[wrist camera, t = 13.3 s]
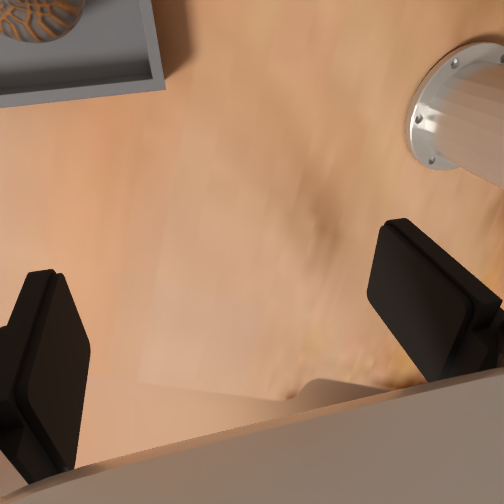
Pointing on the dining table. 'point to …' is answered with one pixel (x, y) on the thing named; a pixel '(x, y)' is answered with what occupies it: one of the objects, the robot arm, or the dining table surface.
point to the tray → (86, 58)
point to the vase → (39, 19)
